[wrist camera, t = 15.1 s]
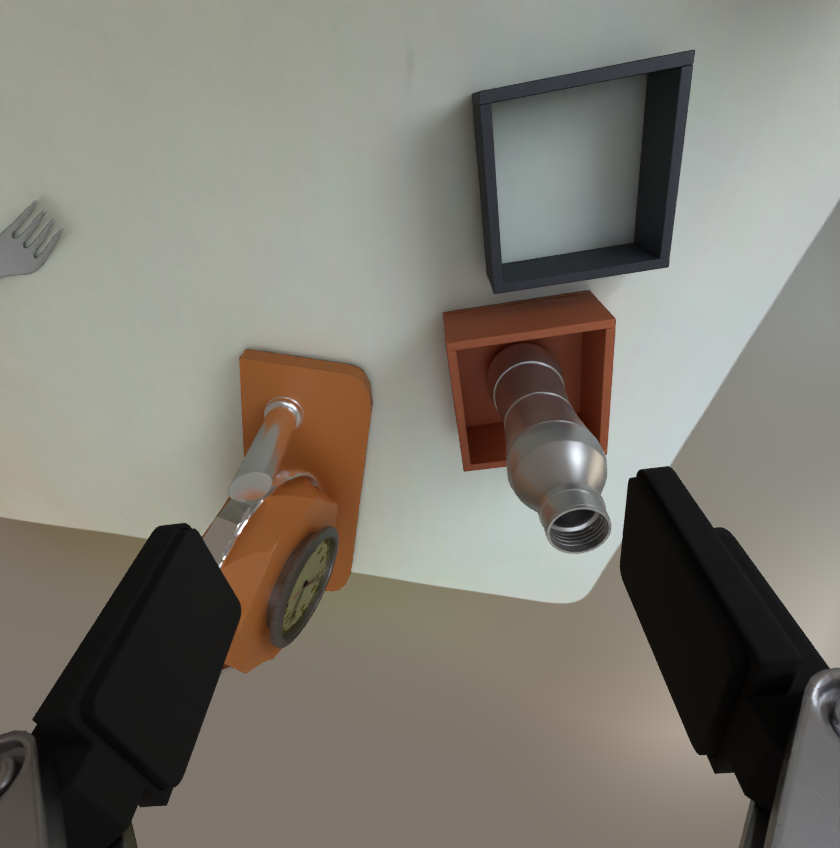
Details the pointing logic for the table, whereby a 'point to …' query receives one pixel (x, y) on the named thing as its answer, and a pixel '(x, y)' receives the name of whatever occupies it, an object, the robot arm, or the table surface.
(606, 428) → the terracotta bin
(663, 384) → the table surface
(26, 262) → the fork
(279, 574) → the desk clock
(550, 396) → the metal bottle
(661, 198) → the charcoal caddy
